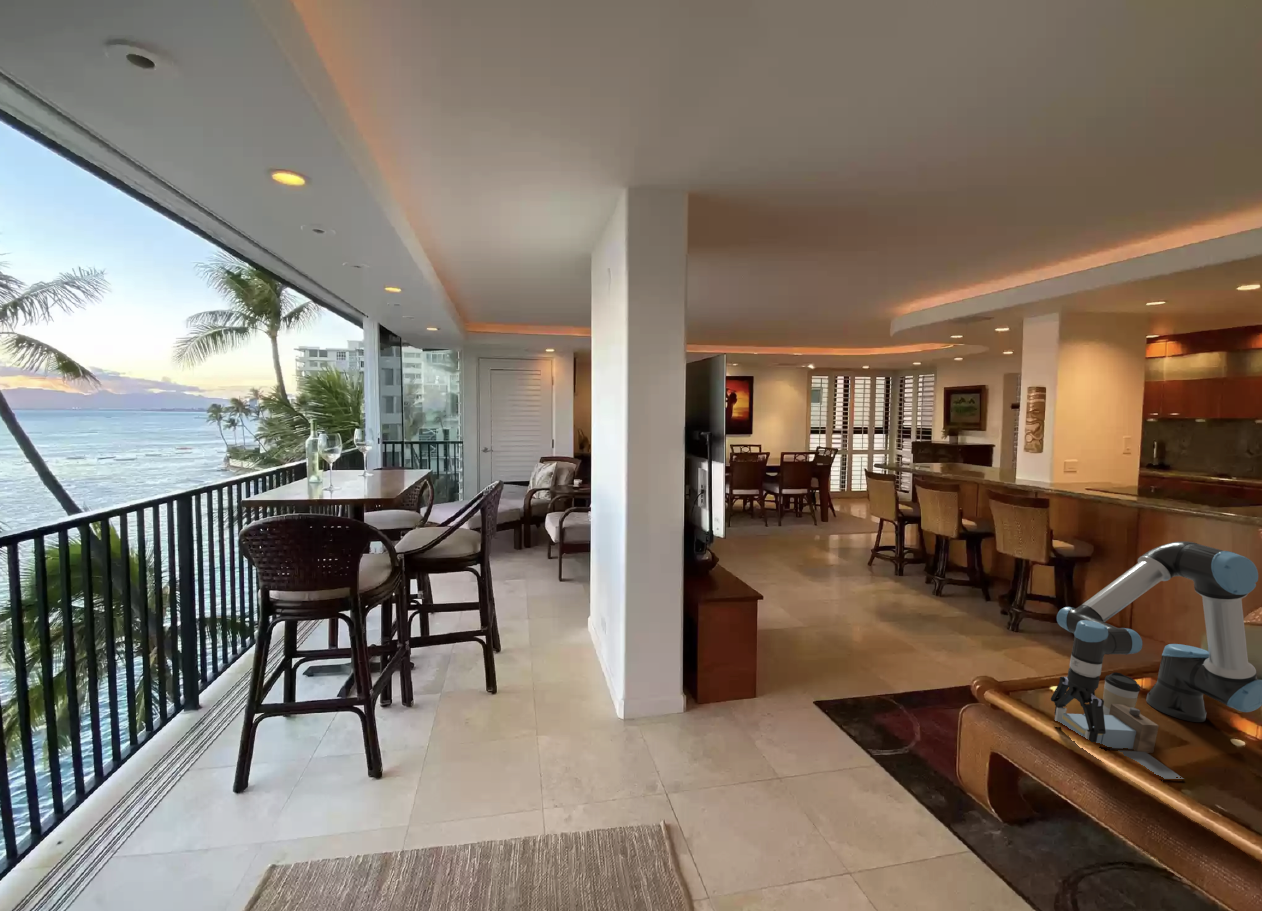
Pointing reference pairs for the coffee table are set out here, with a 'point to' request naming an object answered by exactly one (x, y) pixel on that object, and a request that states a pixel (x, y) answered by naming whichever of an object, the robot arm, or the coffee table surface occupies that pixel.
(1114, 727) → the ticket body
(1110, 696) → the coffee cup
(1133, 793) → the coffee table surface
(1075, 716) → the light blue block
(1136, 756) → the coaster
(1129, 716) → the brown block with knob
